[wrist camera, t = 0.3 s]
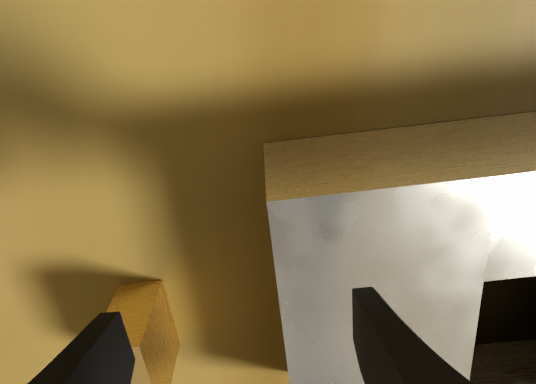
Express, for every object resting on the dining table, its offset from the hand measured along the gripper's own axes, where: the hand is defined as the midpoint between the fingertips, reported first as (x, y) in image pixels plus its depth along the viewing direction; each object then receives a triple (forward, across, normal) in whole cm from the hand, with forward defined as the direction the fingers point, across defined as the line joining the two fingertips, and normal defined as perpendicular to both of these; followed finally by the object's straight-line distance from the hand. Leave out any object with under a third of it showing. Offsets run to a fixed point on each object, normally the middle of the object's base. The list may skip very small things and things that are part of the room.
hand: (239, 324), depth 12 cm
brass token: (+10, +7, +7) cm, 14 cm away
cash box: (+9, -11, +5) cm, 16 cm away
